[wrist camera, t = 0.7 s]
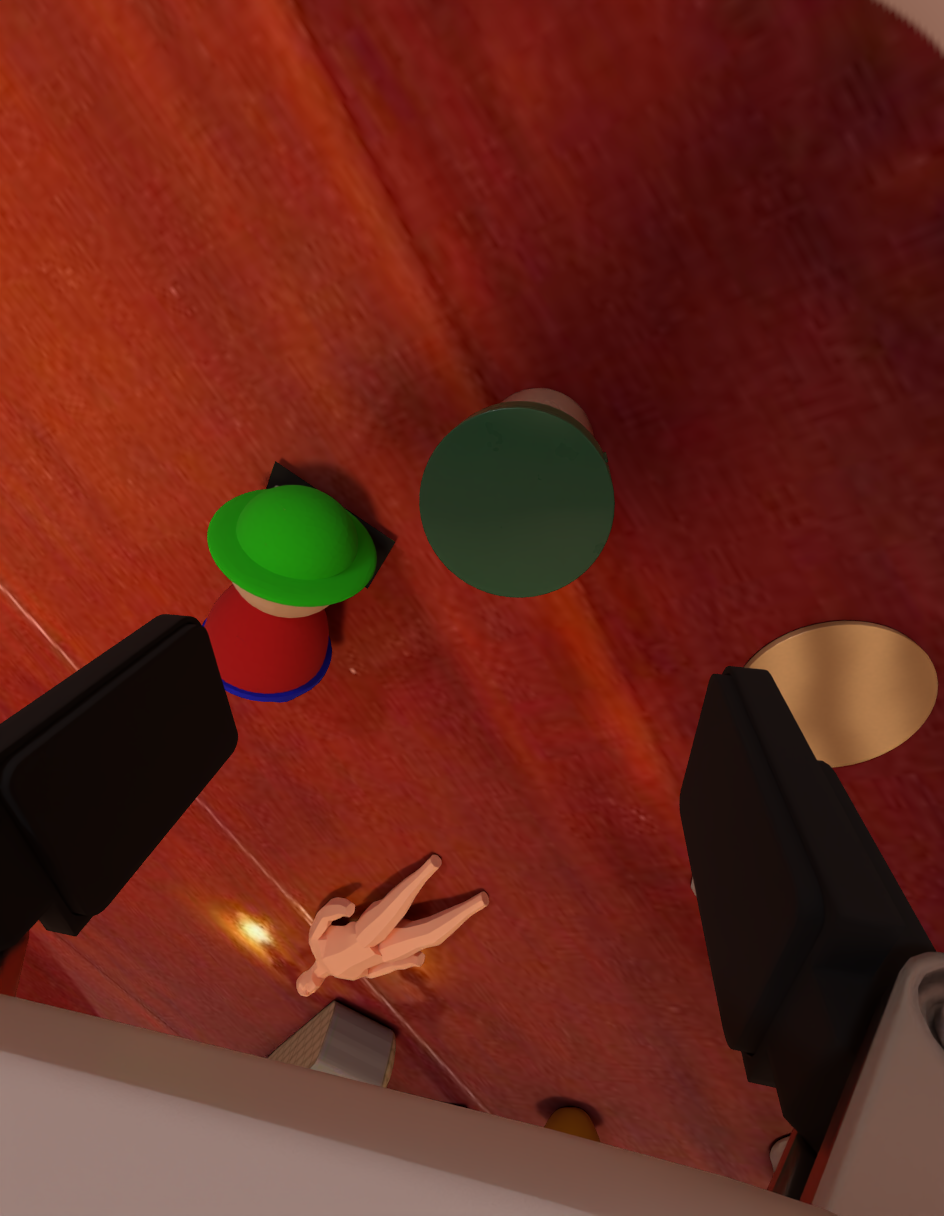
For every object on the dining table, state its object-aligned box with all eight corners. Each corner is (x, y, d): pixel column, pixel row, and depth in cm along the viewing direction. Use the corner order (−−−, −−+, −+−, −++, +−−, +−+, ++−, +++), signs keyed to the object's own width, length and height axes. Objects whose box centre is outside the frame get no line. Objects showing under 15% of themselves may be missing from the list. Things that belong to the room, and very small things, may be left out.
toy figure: (349, 647, 40) (415, 498, 31) (298, 750, 33) (363, 598, 24) (237, 599, 39) (269, 426, 29) (159, 696, 32) (168, 509, 22)
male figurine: (501, 941, 46) (335, 1028, 55) (505, 889, 50) (351, 978, 60) (410, 873, 43) (254, 976, 53) (423, 825, 48) (276, 928, 57)
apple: (544, 1087, 65) (539, 1188, 57) (612, 1107, 64) (616, 1212, 57) (532, 1112, 69) (526, 1210, 62) (595, 1131, 68) (597, 1233, 61)
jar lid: (563, 359, 18) (561, 362, 16) (644, 534, 20) (648, 551, 19) (397, 459, 21) (382, 470, 19) (485, 603, 23) (478, 623, 22)
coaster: (911, 591, 28) (916, 595, 28) (949, 736, 32) (955, 741, 32) (706, 658, 33) (708, 663, 32) (761, 779, 36) (763, 784, 36)
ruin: (311, 1103, 80) (191, 1473, 53) (251, 1074, 79) (97, 1438, 52) (416, 1014, 67) (325, 1454, 39) (345, 977, 65) (200, 1405, 38)
